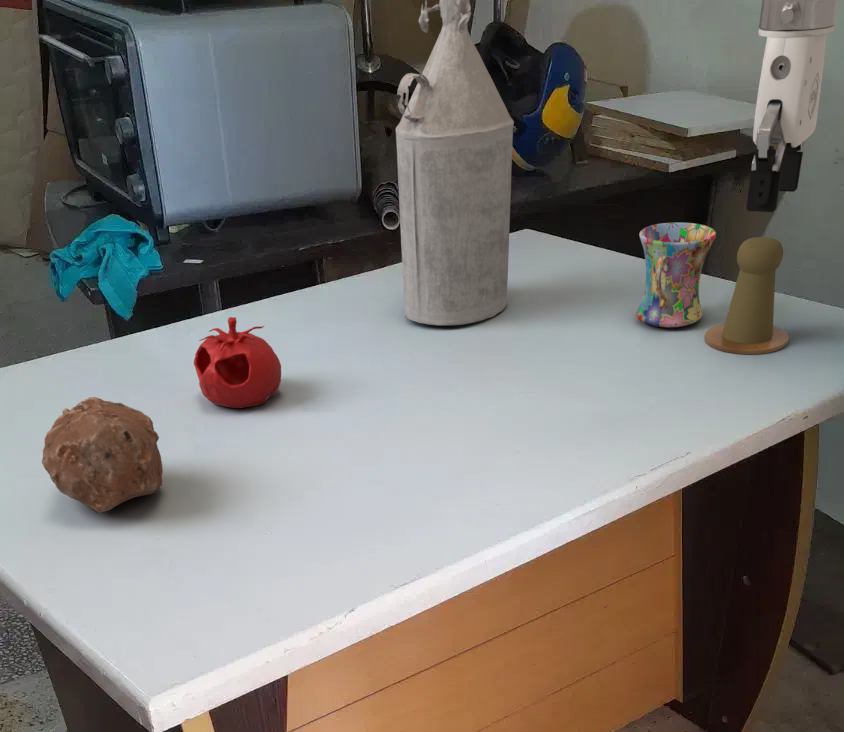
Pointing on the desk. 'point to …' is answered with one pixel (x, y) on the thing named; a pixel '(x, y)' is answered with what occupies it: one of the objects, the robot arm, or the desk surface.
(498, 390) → the desk surface
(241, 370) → the hollow red tomato
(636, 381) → the desk surface
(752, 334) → the pepper shaker
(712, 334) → the coaster
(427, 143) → the canister
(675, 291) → the mug
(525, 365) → the desk surface
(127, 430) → the decorative rock
